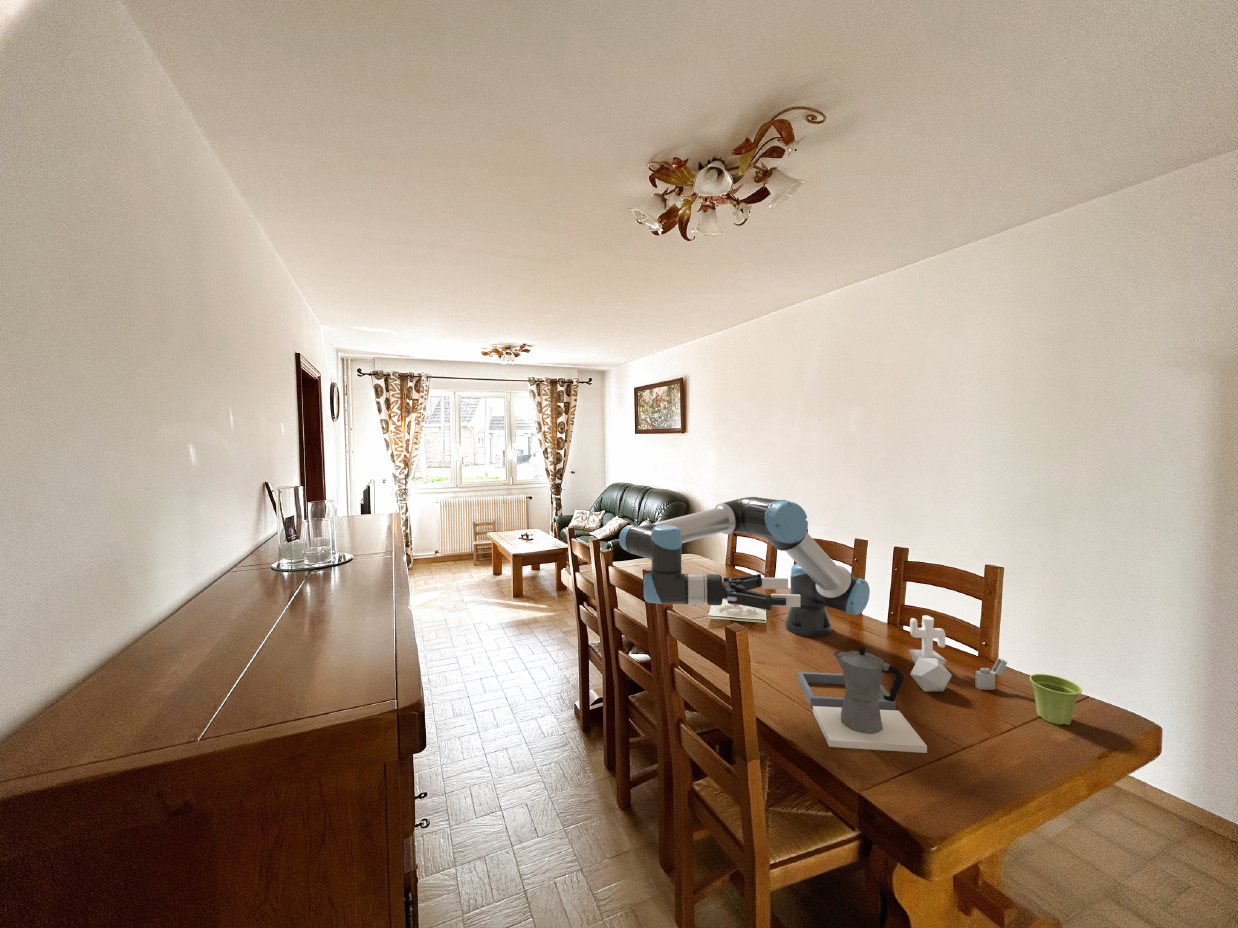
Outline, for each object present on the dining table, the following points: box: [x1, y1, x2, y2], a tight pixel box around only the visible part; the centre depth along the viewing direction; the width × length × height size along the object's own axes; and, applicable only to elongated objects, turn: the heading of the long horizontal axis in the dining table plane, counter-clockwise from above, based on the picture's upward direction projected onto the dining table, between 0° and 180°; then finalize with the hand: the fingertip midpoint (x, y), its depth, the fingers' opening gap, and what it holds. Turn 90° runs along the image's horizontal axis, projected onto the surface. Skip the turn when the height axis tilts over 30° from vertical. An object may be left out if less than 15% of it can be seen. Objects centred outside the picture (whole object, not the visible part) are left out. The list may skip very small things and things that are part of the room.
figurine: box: [908, 614, 948, 666], centre depth 146 cm, size 7×9×15 cm
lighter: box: [974, 657, 1008, 691], centre depth 133 cm, size 7×2×8 cm, turn 87°
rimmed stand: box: [797, 671, 897, 710], centre depth 131 cm, size 14×20×2 cm
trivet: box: [812, 706, 928, 754], centre depth 115 cm, size 14×20×2 cm
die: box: [910, 658, 953, 693], centre depth 134 cm, size 8×9×10 cm
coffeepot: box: [832, 645, 905, 734], centre depth 114 cm, size 15×9×18 cm, turn 45°
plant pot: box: [1029, 673, 1083, 726], centre depth 119 cm, size 9×9×9 cm
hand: (793, 591), depth 122 cm, fingers open, 13 cm apart
